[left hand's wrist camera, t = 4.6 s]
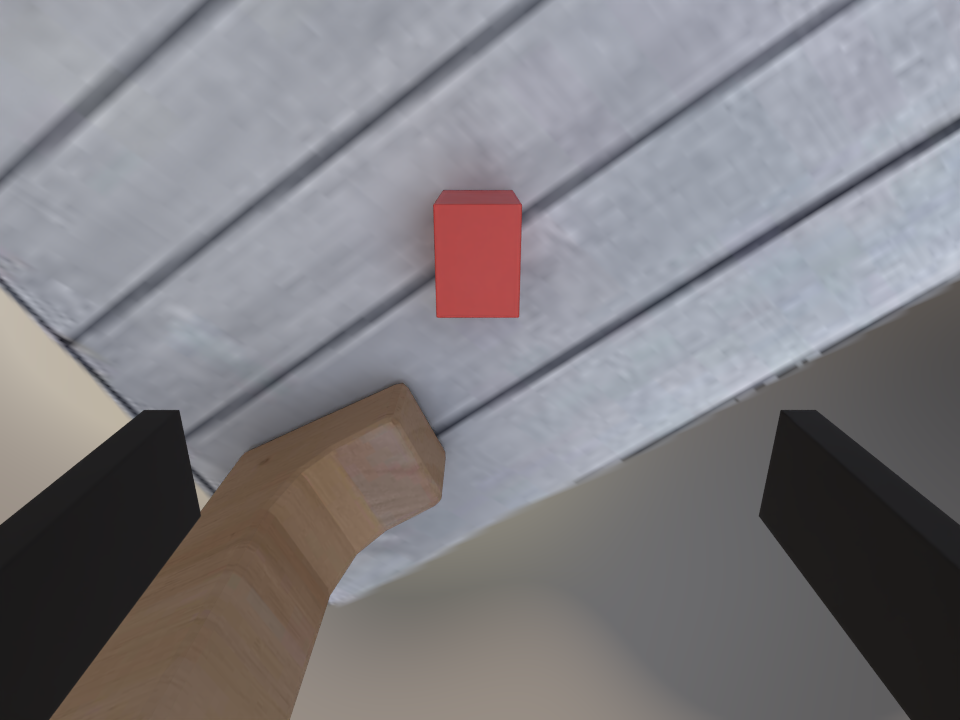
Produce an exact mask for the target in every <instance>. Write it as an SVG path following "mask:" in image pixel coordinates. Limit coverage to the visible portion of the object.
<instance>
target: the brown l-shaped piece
mask: <svg viewBox="0 0 960 720" xmlns="http://www.w3.org/2000/svg"><path fill="white" fill-rule="evenodd" d="M445 458H446V457H445V451H444V449H443V448H442V446H441V444H440V442H439V441H438V439H437V437H436V435H435V434H434V432H433V430H432V428H431V427H430V425H429V423H428V421H427V420H426V418H425V416H424V415H423V413H422V411H421V409H420V408H419V406H418V404H417V402H416V401H415V399H414V397H413V395H412V394H411V392H410V390H409V388H408V387H407V386H406V385H404V384H403V383H401V384H396V385H393V386H391V387H389V388H387V389H384V390H382V391H380V392H378V393H376V394H373V395H371V396H369V397H367V398H365V399H362V400H360V401H358V402H356V403H353V404H351V405H349V406H347V407H345V408H342V409H340V410H338V411H336V412H334V413H331V414H329V415H327V416H325V417H322V418H320V419H318V420H316V421H314V422H311V423H309V424H307V425H305V426H303V427H301V428H298V429H296V430H294V431H292V432H290V433H287V434H285V435H283V436H281V437H279V438H276V439H274V440H272V441H270V442H268V443H265V444H263V445H261V446H259V447H257V448H254V449H252V450H250V451H248V452H246V453H244V454H243V455H242V457H241V458H240V459H239V461H238V462H237V463H236V465H235V466H234V467H233V469H232V470H231V471H230V473H229V474H228V475H227V477H226V478H225V479H224V481H223V482H222V483H221V485H220V486H219V487H218V489H217V490H216V492H215V493H214V494H213V496H212V497H211V498H210V500H209V501H208V502H207V504H206V505H205V506H204V508H203V509H202V510H201V512H200V513H201V517H200V518H199V519H198V521H197V522H196V523H195V525H194V526H193V528H192V529H191V530H190V532H189V533H188V534H187V536H186V537H185V538H184V540H183V541H182V542H181V544H180V545H179V546H178V548H177V549H176V550H175V552H174V553H173V554H172V556H171V557H170V558H169V560H168V561H167V562H166V564H165V565H164V566H163V568H162V569H161V570H160V572H159V573H158V574H157V576H156V577H155V579H154V580H153V581H152V583H151V584H150V585H149V587H148V588H147V589H146V591H145V592H144V593H143V595H142V596H141V597H140V599H139V600H138V601H137V603H136V604H135V605H134V607H133V608H132V609H131V611H130V612H129V613H128V615H127V616H126V617H125V619H124V620H123V621H122V623H121V624H120V625H119V627H118V628H117V630H116V631H115V632H114V634H113V635H112V636H111V638H110V639H109V640H108V642H107V643H106V644H105V646H104V647H103V648H102V650H101V651H100V652H99V654H98V655H97V656H96V658H95V659H94V660H93V662H92V663H91V664H90V666H89V667H88V668H87V670H86V671H85V672H84V674H83V675H82V676H81V678H80V679H79V681H78V682H77V683H76V685H75V686H74V687H73V689H72V690H71V691H70V693H69V694H68V695H67V697H66V698H65V699H64V701H63V702H62V703H61V705H60V706H59V707H58V709H57V710H56V711H55V713H54V714H53V715H52V717H51V718H50V719H49V720H290V717H291V714H292V711H293V708H294V705H295V702H296V699H297V695H298V692H299V689H300V686H301V683H302V680H303V677H304V674H305V671H306V668H307V665H308V662H309V659H310V656H311V653H312V649H313V646H314V643H315V640H316V637H317V634H318V631H319V628H320V625H321V622H322V619H323V616H324V613H325V609H326V606H327V603H328V600H329V597H330V595H331V593H332V592H333V590H334V589H335V587H336V585H337V584H338V582H339V581H340V579H341V578H342V576H343V575H344V573H345V572H346V570H347V569H348V567H349V565H350V564H351V562H352V561H353V559H354V558H355V556H356V555H357V554H358V553H359V552H360V551H361V550H363V549H364V548H365V547H366V546H368V545H369V544H370V543H371V542H373V541H374V540H375V539H376V538H377V537H379V536H380V535H381V534H382V533H384V532H385V531H386V530H388V529H390V528H392V527H394V526H396V525H398V524H400V523H402V522H404V521H406V520H408V519H410V518H412V517H414V516H416V515H418V514H420V513H422V512H423V511H425V510H427V509H429V508H431V507H433V506H435V505H436V504H437V503H438V502H439V501H440V500H441V497H442V487H443V478H444V468H445Z"/></svg>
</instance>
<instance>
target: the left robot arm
mask: <svg viewBox="0 0 960 720" xmlns="http://www.w3.org/2000/svg"><path fill="white" fill-rule="evenodd" d="M200 517H201V513H200V508H199V504H198V498H197V494H196V489H195V484H194V479H193V474H192V469H191V465H190V460H189V455H188V450H187V445H186V440H185V436H184V431H183V426H182V421H181V416H180V411H179V410H144V411H142V412H141V413H140V414H139V415H137V416H136V417H135V418H134V419H132V420H131V421H130V422H129V423H127V424H126V425H125V426H124V427H122V428H121V429H120V430H119V431H117V432H116V433H115V434H114V435H112V436H111V437H110V438H109V439H107V440H106V441H105V442H104V443H102V444H101V445H100V446H99V447H97V448H96V449H95V450H94V451H92V452H91V453H90V454H89V455H87V456H86V457H85V458H84V459H82V460H81V461H80V462H79V463H77V464H76V465H75V466H74V467H72V468H71V469H70V470H69V471H67V472H66V473H65V474H64V475H62V476H61V477H60V478H59V479H57V480H56V481H55V482H54V483H52V484H51V485H50V486H49V487H47V488H46V489H45V490H44V491H42V492H41V493H40V494H39V495H37V496H36V497H35V498H34V499H32V500H31V501H30V502H29V503H27V504H26V505H25V506H24V507H22V508H21V509H20V510H19V511H17V512H16V513H15V514H14V515H12V516H11V517H10V518H9V519H7V520H6V521H5V522H4V523H2V524H1V525H0V720H49V719H50V718H51V717H52V715H53V714H54V713H55V711H56V710H57V709H58V707H59V706H60V705H61V703H62V702H63V701H64V699H65V698H66V697H67V695H68V694H69V693H70V691H71V690H72V689H73V687H74V686H75V685H76V683H77V682H78V681H79V679H80V678H81V676H82V675H83V674H84V672H85V671H86V670H87V668H88V667H89V666H90V664H91V663H92V662H93V660H94V659H95V658H96V656H97V655H98V654H99V652H100V651H101V650H102V648H103V647H104V646H105V644H106V643H107V642H108V640H109V639H110V638H111V636H112V635H113V634H114V632H115V631H116V630H117V628H118V627H119V625H120V624H121V623H122V621H123V620H124V619H125V617H126V616H127V615H128V613H129V612H130V611H131V609H132V608H133V607H134V605H135V604H136V603H137V601H138V600H139V599H140V597H141V596H142V595H143V593H144V592H145V591H146V589H147V588H148V587H149V585H150V584H151V583H152V581H153V580H154V579H155V577H156V576H157V574H158V573H159V572H160V570H161V569H162V568H163V566H164V565H165V564H166V562H167V561H168V560H169V558H170V557H171V556H172V554H173V553H174V552H175V550H176V549H177V548H178V546H179V545H180V544H181V542H182V541H183V540H184V538H185V537H186V536H187V534H188V533H189V532H190V530H191V529H192V528H193V526H194V525H195V523H196V522H197V521H198V519H199V518H200ZM759 517H760V518H761V519H762V521H763V522H764V523H765V525H766V526H767V528H768V529H769V530H770V532H771V533H772V534H773V535H774V537H775V538H776V540H777V541H778V542H779V544H780V545H781V546H782V548H783V549H784V550H785V552H786V553H787V554H788V556H789V557H790V558H791V560H792V561H793V562H794V564H795V565H796V566H797V568H798V569H799V570H800V572H801V573H802V574H803V576H804V577H805V578H806V580H807V581H808V583H809V584H810V585H811V587H812V588H813V589H814V591H815V592H816V593H817V595H818V596H819V597H820V599H821V600H822V601H823V603H824V604H825V605H826V607H827V608H828V609H829V611H830V612H831V613H832V615H833V616H834V617H835V619H836V620H837V621H838V623H839V624H840V625H841V627H842V628H843V630H844V631H845V632H846V634H847V635H848V636H849V638H850V639H851V640H852V642H853V643H854V644H855V646H856V647H857V648H858V650H859V651H860V652H861V654H862V655H863V656H864V658H865V659H866V660H867V662H868V663H869V664H870V666H871V667H872V668H873V670H874V671H875V672H876V674H877V675H878V676H879V678H880V679H881V681H882V682H883V683H884V684H885V686H886V687H887V689H888V690H889V691H890V693H891V694H892V695H893V697H894V698H895V699H896V701H897V702H898V703H899V705H900V706H901V707H902V709H903V710H904V711H905V713H906V714H907V715H908V717H909V718H910V719H911V720H960V525H959V524H958V523H956V522H955V521H954V520H953V519H951V518H950V517H949V516H948V515H946V514H945V513H944V512H943V511H941V510H940V509H939V508H938V507H936V506H935V505H934V504H933V503H931V502H930V501H929V500H928V499H926V498H925V497H924V496H923V495H921V494H920V493H919V492H918V491H916V490H915V489H914V488H913V487H911V486H910V485H909V484H908V483H906V482H905V481H904V480H903V479H901V478H900V477H899V476H898V475H896V474H895V473H894V472H893V471H891V470H890V469H889V468H888V467H886V466H885V465H884V464H883V463H881V462H880V461H879V460H878V459H876V458H875V457H874V456H873V455H871V454H870V453H869V452H868V451H866V450H865V449H864V448H863V447H861V446H860V445H859V444H858V443H856V442H855V441H854V440H853V439H851V438H850V437H849V436H848V435H846V434H845V433H844V432H843V431H841V430H840V429H839V428H838V427H836V426H835V425H834V424H833V423H831V422H830V421H829V420H828V419H826V418H825V417H824V416H823V415H821V414H820V413H819V412H818V411H816V410H781V411H780V416H779V421H778V426H777V431H776V436H775V440H774V445H773V450H772V455H771V460H770V465H769V469H768V474H767V479H766V484H765V489H764V494H763V499H762V503H761V508H760V513H759Z"/></svg>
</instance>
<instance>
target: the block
mask: <svg viewBox="0 0 960 720" xmlns="http://www.w3.org/2000/svg"><path fill="white" fill-rule="evenodd" d="M433 211H434V246H435V281H436V316H437V317H438V318H518V317H519V301H520V262H521V223H522V204H521V203H520V201H519V200H518V198H517V197H516V195H515V193H514V192H513V191H512V190H443V191H442V193H441V194H440V196H439V197H438V199H437V200H436V202H435V203H434V205H433Z"/></svg>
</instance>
